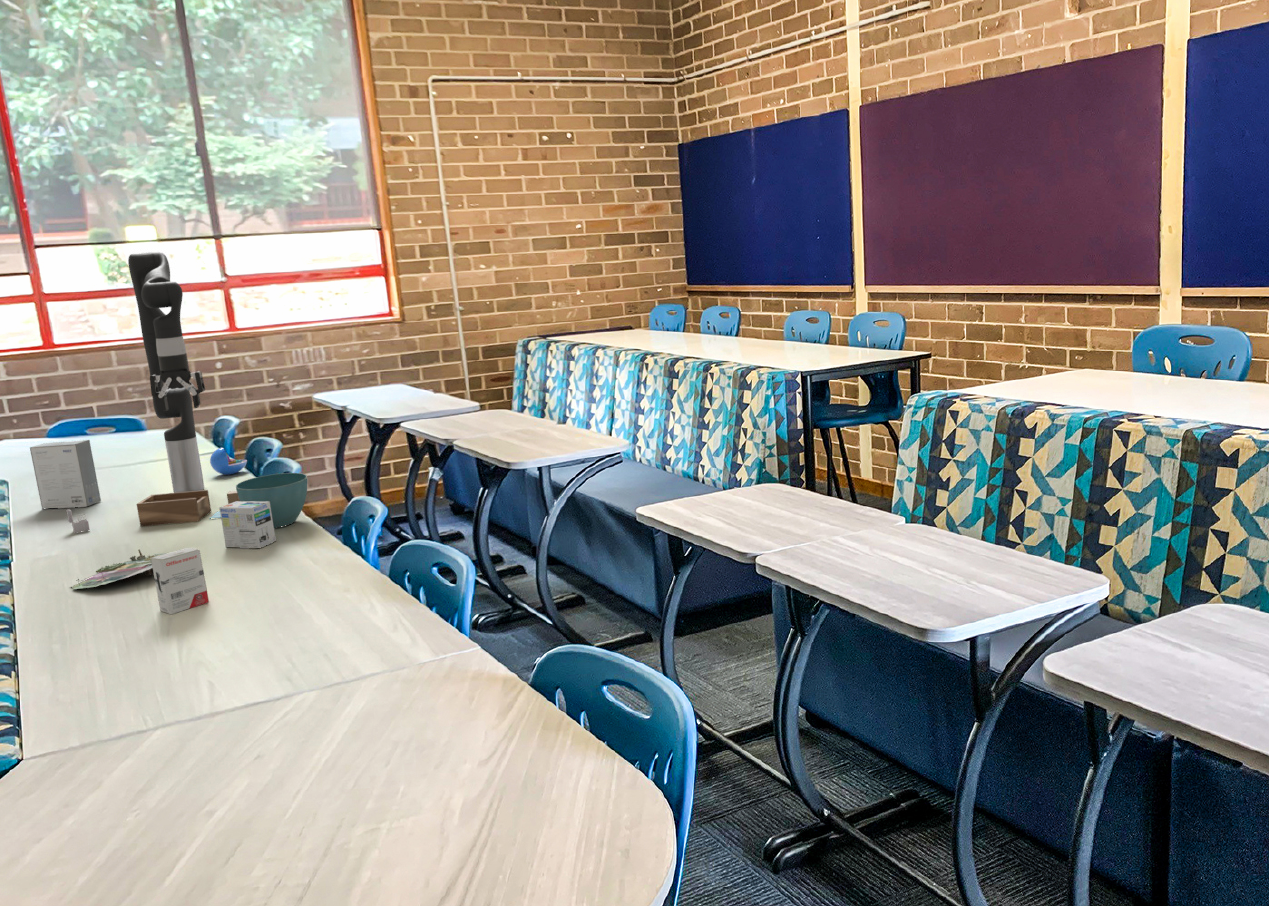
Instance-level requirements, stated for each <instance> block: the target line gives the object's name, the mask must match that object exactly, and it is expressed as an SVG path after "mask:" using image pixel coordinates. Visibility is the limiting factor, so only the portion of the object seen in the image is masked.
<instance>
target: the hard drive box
mask: <svg viewBox="0 0 1269 906" xmlns="http://www.w3.org/2000/svg"><path fill="white" fill-rule="evenodd" d="M29 449H30V450H29V451H30V455H31V460H32V465H33V471H34V475H35V481H36V486H37V490H38V495H39V501H40V505H41V510H45V509H44V508H58V509H72V508H73V509H75V507H78V508H86V507H89V506H92V505H94V504H96V503H99V502H101V501H102V499H101V493H100V487H99V484H98V483H99V482H98V479H97V472H96V467H95V463H94V462H95V461H94V457H93V451H92V447H91V441H90V439H82V440H81V439H80V440H68V441H67V440H65V441H55V442H54V441H53V442H44V443H41V444H37V445H33V446H30V447H29Z"/></svg>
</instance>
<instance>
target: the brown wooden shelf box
mask: <svg viewBox="0 0 1269 906" xmlns="http://www.w3.org/2000/svg"><path fill="white" fill-rule="evenodd" d="M136 509H137V514H138V520H139V525H140V527H141V528H142V527H149V526H159V525H160V526H161V525H173V524H182V523H194V522H200V521H201V520H202V519H204V518H205V517H207V516H208V515H209V514H210V513H211V512H212V507H211V501H210V495H209V490H208V489H204V490H200V491H189V492H178V493H174V492H169V493H168V492H167V493H157V494H150V495H149V496H147V497H146V498H144V499H143V500H140V501H139V502H138V503H136ZM210 511H211V512H210ZM208 513H209V514H208ZM207 514H208V515H207Z"/></svg>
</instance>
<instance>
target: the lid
mask: <svg viewBox="0 0 1269 906" xmlns="http://www.w3.org/2000/svg"><path fill="white" fill-rule="evenodd" d="M226 498H227V503H228V504H230V503H233V502H236V501H239V502H241V501H240V499H239V496H238V493H237V490H232V491H228V492H227V493H226ZM211 518H221V514H220V510H219V511H216V512H215V513H214V514H212V515H211V516H210V517H209V519H211Z"/></svg>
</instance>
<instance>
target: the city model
mask: <svg viewBox="0 0 1269 906" xmlns="http://www.w3.org/2000/svg"><path fill="white" fill-rule="evenodd" d="M138 553H139V555H138V556H137V557H136V555H133V556H131V557H129V559H130V560H129V561H124V562H119V563H113V564H110V565H109V564H108V565H105V566H104V567H103V566H101V567H100V568H98V569H97V570H96V571H95V574H92V576H93V577H91V576H90V577H91V578H89V577H88V578H89V579H87V578H84V580H85V579H87V580H85V581H84V580H80V579H79V578H77V580H76V581H77V583H78V584H77V583H76V584H73V586H74V587H72V586H71V587H72V588H71V589H72V590H77V589H86V588H87V589H89V588H94V587H95V588H96V587H98V586H101V585H107V584H109V583H113V582H116V581H119V580H123V579H126V578H129V577H132V576H135V575H137V574H141V573H142V574H145V577H149V576H154V572H153V567H152V561H151V558H152V557H156V556H159V555H163V554H166V553H167V552H163V553H156V554H153V555H150V554H148V555H147V556H146V555H143V553H142V551H141V550H140V549H138ZM96 572H99V573H96ZM81 581H82V582H81ZM79 582H80V583H79Z"/></svg>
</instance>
